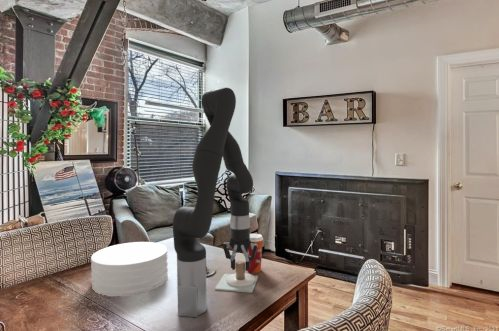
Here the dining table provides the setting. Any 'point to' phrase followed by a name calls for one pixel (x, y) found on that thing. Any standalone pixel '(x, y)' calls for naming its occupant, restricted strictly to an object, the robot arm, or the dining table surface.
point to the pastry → (210, 270)
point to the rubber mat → (225, 287)
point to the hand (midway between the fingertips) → (240, 269)
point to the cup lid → (240, 277)
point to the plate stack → (129, 268)
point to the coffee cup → (256, 263)
